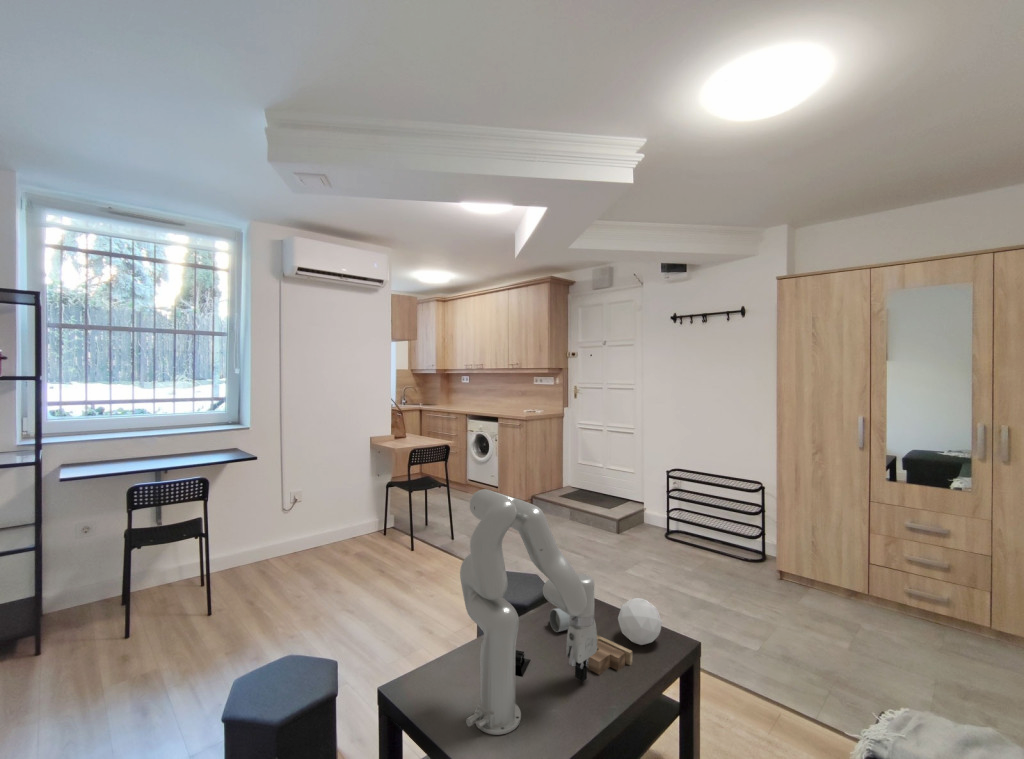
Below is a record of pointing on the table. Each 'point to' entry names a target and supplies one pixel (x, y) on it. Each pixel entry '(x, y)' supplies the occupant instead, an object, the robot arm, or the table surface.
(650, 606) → the white faceted ball
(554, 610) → the ceramic mug
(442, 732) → the table surface
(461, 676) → the table surface
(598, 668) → the tee block
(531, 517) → the robot arm
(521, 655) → the build plate
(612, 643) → the light wooden angled piece
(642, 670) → the table surface
